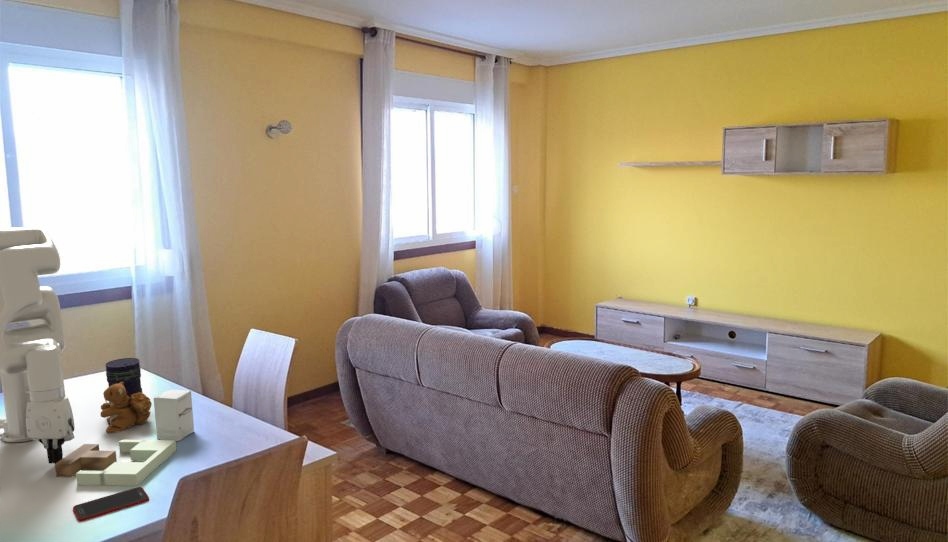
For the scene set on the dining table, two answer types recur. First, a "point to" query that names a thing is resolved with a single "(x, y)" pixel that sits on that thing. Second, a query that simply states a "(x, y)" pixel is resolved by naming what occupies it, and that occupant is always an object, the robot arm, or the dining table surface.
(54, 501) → the dining table surface
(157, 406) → the supplement box
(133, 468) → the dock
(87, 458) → the tee
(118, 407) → the stuffed squirrel
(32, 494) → the dining table surface
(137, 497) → the cell phone
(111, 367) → the dark blue barrel
